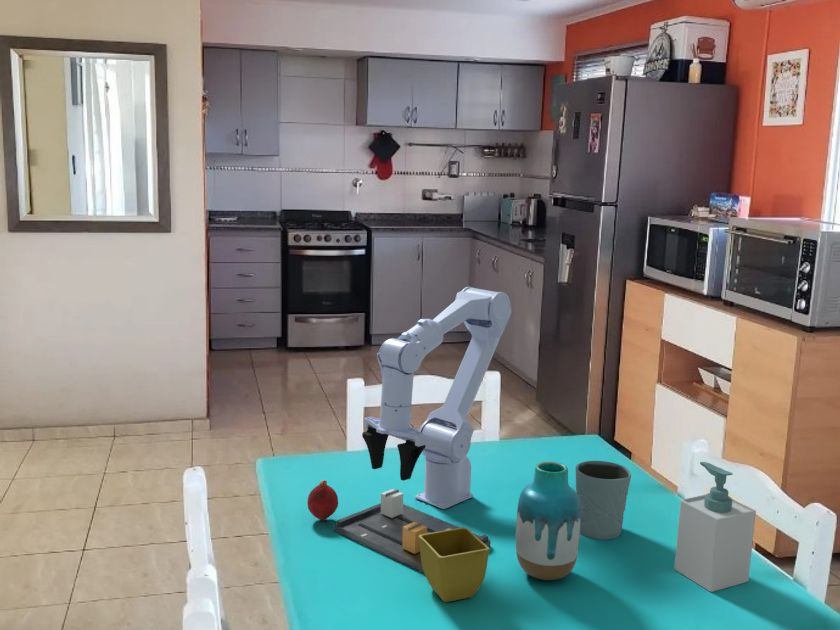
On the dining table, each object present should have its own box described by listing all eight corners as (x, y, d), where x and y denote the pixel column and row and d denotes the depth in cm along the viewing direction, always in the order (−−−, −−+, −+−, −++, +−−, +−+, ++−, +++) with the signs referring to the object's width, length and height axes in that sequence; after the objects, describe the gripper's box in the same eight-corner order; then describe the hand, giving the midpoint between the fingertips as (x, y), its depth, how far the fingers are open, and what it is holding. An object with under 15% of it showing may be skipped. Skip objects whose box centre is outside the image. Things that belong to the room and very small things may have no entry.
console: (395, 506, 172) (395, 496, 172) (490, 546, 156) (490, 535, 156) (334, 530, 161) (334, 520, 160) (430, 576, 145) (430, 565, 144)
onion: (332, 528, 162) (333, 488, 160) (303, 525, 163) (303, 484, 161) (341, 515, 167) (342, 476, 166) (313, 512, 168) (313, 473, 167)
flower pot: (416, 585, 142) (417, 533, 140) (464, 576, 145) (466, 525, 144) (438, 611, 134) (440, 557, 132) (488, 601, 138) (491, 548, 136)
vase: (562, 596, 140) (569, 484, 136) (502, 578, 145) (508, 469, 141) (586, 570, 148) (594, 464, 145) (529, 554, 154) (535, 451, 150)
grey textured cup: (561, 528, 164) (565, 468, 162) (590, 513, 172) (594, 455, 169) (608, 546, 158) (613, 484, 155) (636, 529, 165) (641, 469, 162)
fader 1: (391, 508, 168) (392, 487, 167) (403, 513, 166) (403, 491, 165) (380, 513, 166) (380, 491, 165) (391, 518, 164) (392, 496, 163)
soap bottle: (709, 559, 154) (720, 457, 150) (748, 582, 146) (760, 474, 142) (672, 569, 150) (682, 464, 146) (711, 592, 142) (722, 482, 138)
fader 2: (414, 542, 154) (414, 519, 153) (426, 548, 152) (427, 525, 151) (402, 548, 152) (402, 524, 151) (414, 553, 150) (415, 530, 149)
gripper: (353, 397, 164) (349, 467, 166) (409, 415, 154) (404, 488, 156) (380, 393, 169) (375, 460, 171) (436, 409, 159) (430, 481, 161)
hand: (391, 473), depth 164 cm, fingers open, 7 cm apart
